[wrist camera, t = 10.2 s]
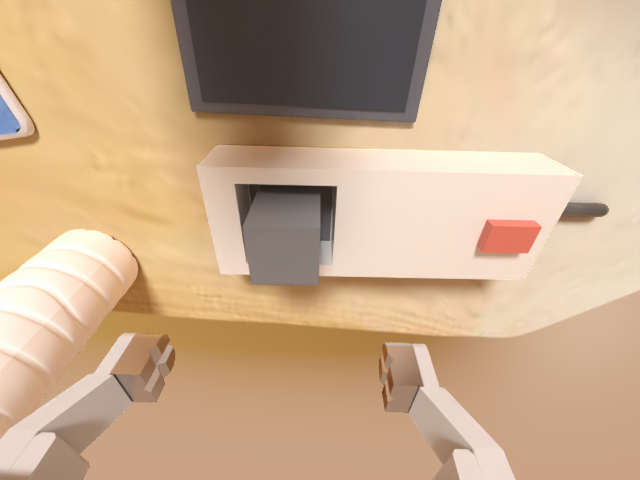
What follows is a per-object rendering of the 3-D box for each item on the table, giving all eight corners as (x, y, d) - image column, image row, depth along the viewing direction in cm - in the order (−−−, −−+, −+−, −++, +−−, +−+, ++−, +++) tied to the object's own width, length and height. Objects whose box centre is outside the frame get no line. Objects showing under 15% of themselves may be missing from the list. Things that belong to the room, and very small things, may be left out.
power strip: (633, 155, 20) (710, 184, 16) (573, 249, 25) (621, 289, 21) (216, 144, 20) (190, 171, 16) (233, 241, 24) (216, 281, 20)
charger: (320, 181, 20) (320, 228, 15) (319, 231, 22) (318, 286, 17) (261, 180, 20) (242, 226, 15) (266, 230, 22) (251, 285, 17)
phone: (440, -23, 15) (448, -27, 14) (411, 118, 19) (415, 122, 18) (171, -39, 15) (161, -44, 14) (197, 108, 19) (191, 111, 18)
